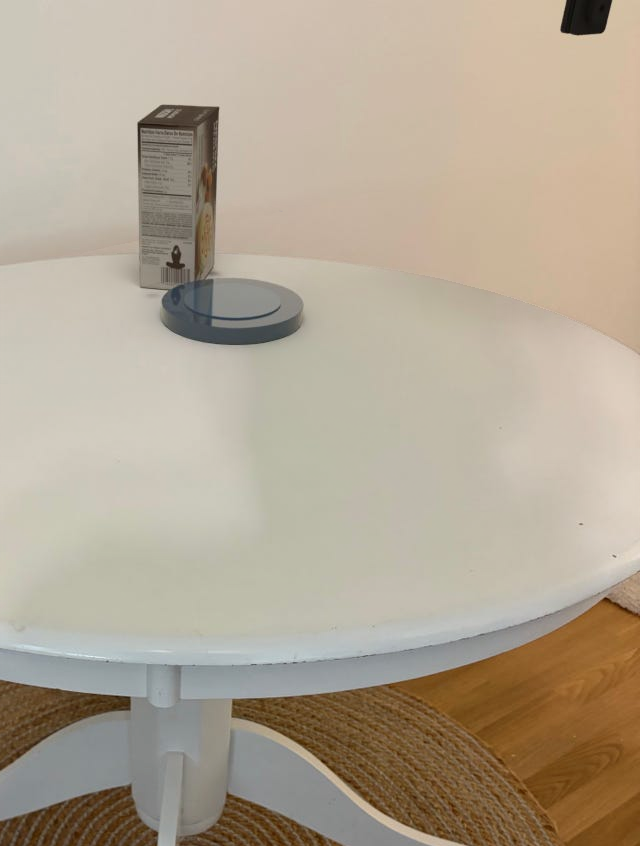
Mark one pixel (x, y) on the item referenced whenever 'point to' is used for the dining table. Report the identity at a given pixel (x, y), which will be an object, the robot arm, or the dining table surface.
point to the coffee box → (177, 194)
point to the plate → (232, 311)
